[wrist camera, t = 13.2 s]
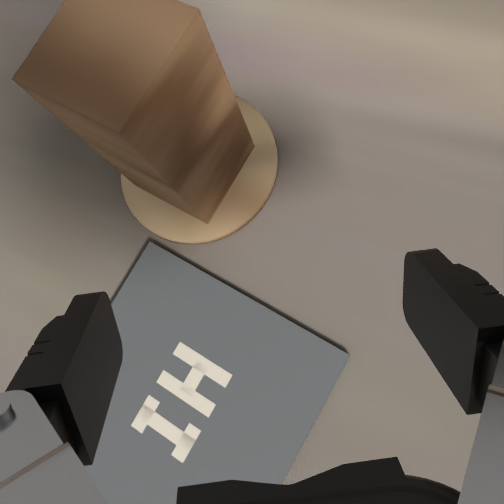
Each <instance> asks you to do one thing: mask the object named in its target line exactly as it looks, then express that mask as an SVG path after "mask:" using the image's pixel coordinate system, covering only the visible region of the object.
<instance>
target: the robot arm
mask: <svg viewBox="0 0 504 504" xmlns="http://www.w3.org/2000/svg"><path fill="white" fill-rule="evenodd" d="M403 310H404V315H405V319H406V321H407V323H408V325H409V327H410V328H411V330H412V331H413V333H414V335H415V336H416V338H417V339H418V341H419V342H420V344H421V345H422V347H423V348H424V350H425V351H426V353H427V354H428V356H429V357H430V359H431V361H432V362H433V364H434V365H435V367H436V368H437V370H438V371H439V373H440V374H441V376H442V377H443V379H444V380H445V382H446V383H447V385H448V387H449V388H450V390H451V391H452V393H453V394H454V396H455V397H456V399H457V400H458V402H459V403H460V405H461V406H462V408H463V410H464V411H465V413H466V414H467V415H470V414H477V413H481V417H480V421H479V425H478V428H477V432H476V436H475V440H474V443H473V447H472V451H471V455H470V459H469V462H468V466H467V470H466V474H465V477H464V481H463V485H462V489H461V492H459V491H457V490H455V489H453V488H451V487H449V486H446V485H444V484H442V483H439V482H436V481H432V480H429V479H426V478H421V477H416V476H411V475H405V474H404V472H403V469H402V467H401V465H400V462H399V460H398V458H397V457H392V458H385V459H377V460H370V461H363V462H356V463H349V464H343V465H340V466H338V467H335V468H333V469H330V470H328V471H325V472H323V473H320V474H317V475H315V476H312V477H310V478H307V479H305V480H302V481H300V482H297V483H294V484H290V485H281V484H271V483H261V482H251V481H241V480H225V481H218V482H211V483H204V484H196V485H189V486H182V487H178V489H177V500H176V504H504V296H503V295H502V294H499V291H497V290H496V289H495V288H494V287H493V286H492V285H489V282H488V281H487V280H486V279H484V278H483V277H482V276H481V275H480V274H479V273H478V272H476V271H474V270H472V269H470V268H468V267H466V266H463V265H461V264H453V263H452V262H451V261H450V260H449V259H447V258H446V257H445V256H444V255H443V254H442V253H441V252H440V251H439V250H438V249H436V248H435V249H427V250H419V251H412V252H407V253H406V255H405V260H404V282H403ZM122 359H123V347H122V341H121V337H120V333H119V330H118V327H117V323H116V320H115V316H114V313H113V310H112V306H111V303H110V299H109V297H108V295H107V293H106V292H104V291H103V292H96V293H88V294H81V295H76V296H74V298H73V300H72V301H71V303H70V305H69V307H68V309H67V311H66V313H65V314H64V315H62V316H57V317H55V318H54V319H53V320H52V321H51V322H50V323H48V324H47V325H46V326H45V327H44V328H43V329H42V330H41V332H40V333H39V335H38V337H37V338H36V340H35V342H34V345H32V347H31V348H30V350H29V352H28V356H26V357H25V359H24V360H23V362H22V364H21V365H20V367H19V369H18V371H17V372H16V374H15V376H14V377H13V379H12V381H11V382H10V384H9V386H8V387H7V389H6V391H5V392H3V393H0V504H109V503H108V502H107V500H106V499H105V497H104V496H103V494H102V493H101V491H100V490H99V488H98V487H97V485H96V484H95V482H94V481H93V479H92V478H91V476H90V474H89V473H88V471H87V470H86V468H85V467H84V466H87V465H93V461H94V458H95V454H96V451H97V447H98V444H99V440H100V437H101V433H102V430H103V426H104V423H105V420H106V416H107V413H108V409H109V406H110V402H111V399H112V395H113V392H114V388H115V385H116V381H117V378H118V374H119V371H120V367H121V364H122Z"/></svg>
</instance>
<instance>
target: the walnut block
mask: <svg viewBox="0 0 504 504" xmlns="http://www.w3.org/2000/svg"><path fill="white" fill-rule="evenodd" d="M12 80H14V81H15V82H16V83H17V84H18V85H19V86H21V87H22V88H23V89H24V90H25V91H26V92H27V93H29V94H30V95H31V96H32V97H33V98H34V99H36V100H37V101H38V102H39V103H40V104H41V105H43V106H44V107H45V108H46V109H47V110H48V111H49V112H51V113H52V114H53V115H54V116H55V117H56V118H58V119H59V120H60V121H61V122H62V123H63V124H65V125H66V126H67V127H68V128H69V129H70V130H71V131H73V132H74V133H75V134H76V135H77V136H78V137H80V138H81V139H82V140H83V141H84V142H85V143H87V144H88V145H89V146H90V147H91V148H92V149H94V150H95V151H96V152H97V153H98V154H99V155H100V156H102V157H103V158H104V159H105V160H106V161H107V162H109V163H110V164H111V165H112V166H113V167H114V168H116V169H117V170H118V171H119V172H120V173H121V174H122V175H124V176H125V177H126V178H127V179H128V180H129V181H131V182H132V183H133V184H134V185H135V186H137V187H139V188H141V189H143V190H144V191H146V192H148V193H150V194H152V195H154V196H156V197H158V198H159V199H161V200H163V201H165V202H167V203H169V204H171V205H173V206H174V207H176V208H178V209H180V210H182V211H184V212H186V213H187V214H189V215H191V216H193V217H195V218H197V219H199V220H201V221H202V222H204V223H206V224H208V223H209V222H210V220H211V218H212V217H213V215H214V213H215V212H216V210H217V208H218V207H219V205H220V203H221V202H222V200H223V198H224V197H225V195H226V193H227V192H228V190H229V188H230V187H231V185H232V183H233V182H234V180H235V178H236V177H237V175H238V173H239V172H240V170H241V168H242V167H243V165H244V163H245V162H246V160H247V158H248V157H249V155H250V153H251V152H252V150H253V148H254V147H255V145H254V143H253V140H252V138H251V135H250V133H249V130H248V128H247V125H246V123H245V121H244V118H243V116H242V113H241V111H240V108H239V106H238V103H237V101H236V98H235V96H234V93H233V91H232V89H231V86H230V84H229V81H228V79H227V76H226V74H225V71H224V69H223V66H222V64H221V62H220V59H219V57H218V54H217V52H216V49H215V47H214V44H213V42H212V39H211V37H210V34H209V32H208V30H207V27H206V25H205V22H204V20H203V17H202V15H201V12H200V10H199V9H198V8H196V7H193V6H190V5H188V4H185V3H182V2H179V1H177V0H66V1H65V2H64V4H63V5H62V7H61V8H60V9H59V11H58V12H57V14H56V15H55V17H54V18H53V20H52V21H51V23H50V24H49V25H48V27H47V28H46V30H45V31H44V33H43V34H42V36H41V37H40V39H39V40H38V42H37V43H36V44H35V46H34V47H33V49H32V50H31V52H30V53H29V55H28V56H27V58H26V59H25V60H24V62H23V63H22V65H21V66H20V68H19V69H18V71H17V72H16V74H15V75H14V76H13V78H12Z"/></svg>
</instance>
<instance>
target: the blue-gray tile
mask: <svg viewBox="0 0 504 504" xmlns="http://www.w3.org/2000/svg"><path fill="white" fill-rule="evenodd" d="M111 306H112V310H113V313H114V316H115V320H116V323H117V327H118V330H119V333H120V337H121V341H122V347H123V359H122V364H121V367H120V371H119V374H118V378H117V381H116V385H115V388H114V392H113V395H112V399H111V402H110V406H109V409H108V413H107V416H106V420H105V423H104V426H103V430H102V433H101V437H100V440H99V444H98V447H97V451H96V454H95V458H94V461H93V465H87V466H84V467H85V468H86V470H87V471H88V473H89V474H90V476H91V478H92V479H93V481H94V482H95V484H96V485H97V487H98V488H99V490H100V491H101V493H102V494H103V496H104V497H105V499H106V500H107V502H108V503H109V504H176V500H177V489H178V487H182V486H189V485H196V484H204V483H211V482H218V481H225V480H241V481H251V482H261V483H271V484H282V482H283V480H284V478H285V476H286V474H287V473H288V471H289V469H290V467H291V465H292V463H293V461H294V459H295V458H296V456H297V454H298V452H299V450H300V448H301V446H302V444H303V443H304V441H305V439H306V437H307V435H308V433H309V431H310V429H311V428H312V426H313V424H314V422H315V420H316V418H317V416H318V414H319V413H320V411H321V409H322V407H323V405H324V403H325V401H326V399H327V398H328V396H329V394H330V392H331V390H332V388H333V386H334V384H335V383H336V381H337V379H338V377H339V375H340V373H341V371H342V369H343V368H344V366H345V364H346V362H347V360H348V358H349V356H350V355H349V354H347V353H345V352H344V351H342V350H340V349H338V348H337V347H335V346H333V345H331V344H330V343H328V342H326V341H324V340H322V339H321V338H319V337H317V336H315V335H314V334H312V333H310V332H308V331H307V330H305V329H303V328H301V327H300V326H298V325H296V324H294V323H293V322H291V321H289V320H287V319H286V318H284V317H282V316H280V315H279V314H277V313H275V312H273V311H271V310H270V309H268V308H266V307H264V306H263V305H261V304H259V303H257V302H256V301H254V300H252V299H250V298H249V297H247V296H245V295H243V294H242V293H240V292H238V291H236V290H235V289H233V288H231V287H229V286H228V285H226V284H224V283H222V282H220V281H219V280H217V279H215V278H213V277H212V276H210V275H208V274H206V273H205V272H203V271H201V270H199V269H198V268H196V267H194V266H192V265H191V264H189V263H187V262H185V261H184V260H182V259H180V258H178V257H177V256H175V255H173V254H171V253H169V252H168V251H166V250H164V249H162V248H161V247H159V246H157V245H155V244H154V243H152V242H149V243H148V245H147V247H146V248H145V250H144V251H143V253H142V255H141V256H140V258H139V260H138V261H137V263H136V265H135V266H134V268H133V269H132V271H131V273H130V274H129V276H128V278H127V279H126V281H125V283H124V284H123V286H122V288H121V289H120V291H119V292H118V294H117V296H116V297H115V299H114V301H113V302H112V304H111Z"/></svg>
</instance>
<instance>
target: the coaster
mask: <svg viewBox="0 0 504 504" xmlns="http://www.w3.org/2000/svg"><path fill="white" fill-rule="evenodd" d="M235 98H236V101H237V103H238V106H239V108H240V111H241V113H242V116H243V118H244V121H245V123H246V125H247V128H248V130H249V133H250V135H251V138H252V140H253V143H254V145H255V147H254V148H253V150H252V152H251V153H250V155H249V157H248V158H247V160H246V162H245V163H244V165H243V167H242V168H241V170H240V172H239V173H238V175H237V177H236V178H235V180H234V182H233V183H232V185H231V187H230V188H229V190H228V192H227V193H226V195H225V197H224V198H223V200H222V202H221V203H220V205H219V207H218V208H217V210H216V212H215V213H214V215H213V217H212V218H211V220H210V222H209V223H208V224H206V223H204V222H202V221H201V220H199V219H197V218H195V217H193V216H191V215H189V214H187V213H186V212H184V211H182V210H180V209H178V208H176V207H174V206H173V205H171V204H169V203H167V202H165V201H163V200H161V199H159V198H158V197H156V196H154V195H152V194H150V193H148V192H146V191H144V190H143V189H141V188H139V187H137V186H135V185H134V184H133V183H132V182H131V181H129V180H128V179H127V178H126V177H125V176H124V175H122V174H121V185H122V191H123V195H124V198H125V200H126V203H127V205H128V207H129V209H130V210H131V212H132V214H133V215H134V216H135V217H136V219H137V220H138V221H139V222H140V223H141V224H142V225H143V226H145V227H146V228H147V229H149V230H150V231H152V232H153V233H155V234H156V235H158V236H160V237H162V238H164V239H166V240H169V241H173V242H176V243H183V244H202V243H209V242H213V241H217V240H220V239H222V238H225V237H227V236H229V235H231V234H233V233H235V232H237V231H238V230H240V229H241V228H242V227H244V226H245V225H247V224H248V223H249V222H250V221H251V220H252V219H253V218H254V217H255V216H256V215H257V214H258V213H259V211H260V210H261V209H262V208H263V206H264V205H265V203H266V202H267V200H268V198H269V196H270V194H271V192H272V189H273V187H274V184H275V181H276V176H277V170H278V153H277V147H276V143H275V139H274V136H273V134H272V131H271V129H270V127H269V125H268V123H267V122H266V120H265V119H264V117H263V116H262V115H261V114H260V112H259V111H258V110H256V109H255V108H254V107H253V106H252V105H250V104H249V103H248V102H246V101H245V100H243V99H241V98H239V97H237V96H235Z"/></svg>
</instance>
